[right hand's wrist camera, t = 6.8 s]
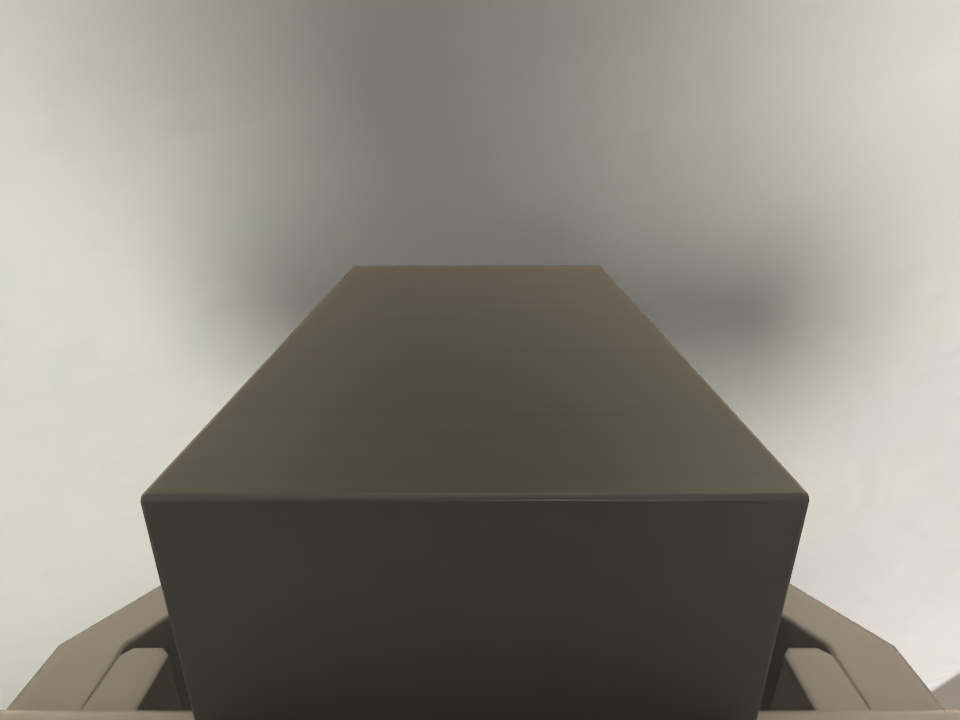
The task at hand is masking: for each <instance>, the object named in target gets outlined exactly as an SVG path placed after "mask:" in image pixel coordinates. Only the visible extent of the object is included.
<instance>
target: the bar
mask: <svg viewBox="0 0 960 720" xmlns="http://www.w3.org/2000/svg"><path fill="white" fill-rule="evenodd" d="M808 503H809V496H808V493H807V492H806V491H805V490H804V489H803V488H802V487H801V486H800V485H799V483H798V482H797V481H796V480H795V479H794V478H793V477H792V476H791V475H790V474H789V472H788V471H787V470H786V469H785V468H784V467H783V466H782V465H781V464H780V463H779V462H778V460H777V459H776V458H775V457H774V456H773V455H772V454H771V453H770V452H769V451H768V449H767V448H766V447H765V446H764V445H763V444H762V443H761V442H760V441H759V440H758V439H757V437H756V436H755V435H754V434H753V433H752V432H751V431H750V430H749V429H748V428H747V426H746V425H745V424H744V423H743V422H742V421H741V420H740V419H739V418H738V417H737V415H736V414H735V413H734V412H733V411H732V410H731V409H730V408H729V407H728V406H727V405H726V403H725V402H724V401H723V400H722V399H721V398H720V397H719V396H718V395H717V394H716V392H715V391H714V390H713V389H712V388H711V387H710V386H709V385H708V384H707V383H706V382H705V380H704V379H703V378H702V377H701V376H700V375H699V374H698V373H697V372H696V371H695V369H694V368H693V367H692V366H691V365H690V364H689V363H688V362H687V361H686V360H685V359H684V357H683V356H682V355H681V354H680V353H679V352H678V351H677V350H676V349H675V348H674V346H673V345H672V344H671V343H670V342H669V341H668V340H667V339H666V338H665V337H664V335H663V334H662V333H661V332H660V331H659V330H658V329H657V328H656V327H655V326H654V325H653V323H652V322H651V321H650V320H649V319H648V318H647V317H646V316H645V315H644V314H643V312H642V311H641V310H640V309H639V308H638V307H637V306H636V305H635V304H634V303H633V302H632V300H631V299H630V298H629V297H628V296H627V295H626V294H625V293H624V292H623V291H622V289H621V288H620V287H619V286H618V285H617V284H616V283H615V282H614V281H613V280H612V279H611V277H610V276H609V275H608V274H607V273H606V272H605V271H604V270H603V269H602V268H601V266H354V267H353V268H352V269H351V270H350V271H349V272H348V273H347V274H346V275H345V276H344V277H343V278H342V280H341V281H340V282H339V283H338V284H337V285H336V286H335V287H334V288H333V289H332V290H331V291H330V293H329V294H328V295H327V296H326V297H325V298H324V299H323V300H322V301H321V302H320V303H319V304H318V305H317V307H316V308H315V309H314V310H313V311H312V312H311V313H310V314H309V315H308V316H307V317H306V318H305V320H304V321H303V322H302V323H301V324H300V325H299V326H298V327H297V328H296V329H295V330H294V331H293V332H292V334H291V335H290V336H289V337H288V338H287V339H286V340H285V341H284V342H283V343H282V344H281V345H280V346H279V348H278V349H277V350H276V351H275V352H274V353H273V354H272V355H271V356H270V357H269V358H268V359H267V361H266V362H265V363H264V364H263V365H262V366H261V367H260V368H259V369H258V370H257V371H256V372H255V373H254V375H253V376H252V377H251V378H250V379H249V380H248V381H247V382H246V383H245V384H244V385H243V386H242V388H241V389H240V390H239V391H238V392H237V393H236V394H235V395H234V396H233V397H232V398H231V399H230V400H229V402H228V403H227V404H226V405H225V406H224V407H223V408H222V409H221V410H220V411H219V412H218V413H217V415H216V416H215V417H214V418H213V419H212V420H211V421H210V422H209V423H208V424H207V425H206V426H205V427H204V429H203V430H202V431H201V432H200V433H199V434H198V435H197V436H196V437H195V438H194V439H193V440H192V441H191V443H190V444H189V445H188V446H187V447H186V448H185V449H184V450H183V451H182V452H181V453H180V454H179V456H178V457H177V458H176V459H175V460H174V461H173V462H172V463H171V464H170V465H169V466H168V467H167V468H166V470H165V471H164V472H163V473H162V474H161V475H160V476H159V477H158V478H157V479H156V480H155V481H154V483H153V484H152V485H151V486H150V487H149V488H148V489H147V490H146V491H145V492H144V493H143V494H142V497H141V506H142V510H143V514H144V518H145V522H146V526H147V530H148V534H149V538H150V542H151V546H152V550H153V554H154V558H155V562H156V566H157V570H158V574H159V578H160V582H161V586H162V590H163V594H164V598H165V603H166V607H167V611H168V615H169V619H170V623H171V627H172V631H173V635H174V639H175V643H176V647H177V651H178V655H179V659H180V663H181V667H182V671H183V675H184V679H185V683H186V687H187V691H188V695H189V699H190V703H191V707H192V712H193V716H194V720H757V716H758V712H759V708H760V704H761V700H762V695H763V691H764V687H765V683H766V679H767V674H768V670H769V666H770V662H771V658H772V654H773V649H774V645H775V641H776V637H777V633H778V628H779V624H780V620H781V616H782V612H783V608H784V603H785V599H786V595H787V591H788V587H789V582H790V578H791V574H792V570H793V566H794V562H795V557H796V553H797V549H798V545H799V541H800V536H801V532H802V528H803V524H804V520H805V516H806V511H807V507H808Z"/></svg>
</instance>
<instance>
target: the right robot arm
mask: <svg viewBox="0 0 960 720" xmlns="http://www.w3.org/2000/svg"><path fill="white" fill-rule="evenodd" d="M0 720H194V716H193V712H192V707H191V703H190V699H189V695H188V691H187V687H186V683H185V679H184V675H183V671H182V667H181V663H180V659H179V655H178V651H177V647H176V643H175V639H174V635H173V631H172V627H171V623H170V619H169V615H168V611H167V607H166V603H165V598H164V594H163V590H162V586H161V585H160V586H159V587H157V588H155V589H154V590H152V591H150V592H149V593H147V594H145V595H144V596H142V597H140V598H139V599H137V600H135V601H133V602H132V603H130V604H128V605H127V606H125V607H123V608H122V609H120V610H118V611H117V612H115V613H113V614H111V615H110V616H108V617H106V618H105V619H103V620H101V621H100V622H98V623H96V624H95V625H93V626H91V627H89V628H88V629H86V630H84V631H83V632H81V633H79V634H78V635H76V636H74V637H73V638H71V639H69V640H67V641H66V642H64V643H62V644H61V645H59V646H58V647H57V649H56V650H55V651H54V652H53V653H52V655H51V656H50V657H49V658H48V660H47V661H46V662H45V663H44V664H43V666H42V667H41V668H40V669H39V671H38V672H37V673H36V674H35V675H34V677H33V678H32V679H31V680H30V681H29V683H28V684H27V685H26V686H25V688H24V689H23V690H22V691H21V692H20V694H19V695H18V696H17V697H16V698H15V700H14V701H13V702H12V703H11V705H10V706H9V707H8V708H7V709H6V710H0ZM757 720H960V710H945V709H944V707H943V706H942V705H941V704H940V703H939V701H938V700H937V699H936V697H935V696H934V695H933V694H932V692H931V691H930V690H929V689H928V688H927V686H926V685H925V684H924V683H923V681H922V680H921V679H920V678H919V676H918V675H917V674H916V673H915V671H914V670H913V669H912V668H911V666H910V665H909V664H908V663H907V661H906V660H905V659H904V658H903V656H902V655H901V654H900V653H899V651H898V650H897V649H896V648H895V646H893V645H891V644H890V643H888V642H886V641H885V640H883V639H881V638H880V637H878V636H876V635H875V634H873V633H871V632H870V631H868V630H866V629H865V628H863V627H861V626H860V625H858V624H856V623H855V622H853V621H851V620H850V619H848V618H846V617H845V616H843V615H841V614H840V613H838V612H836V611H835V610H833V609H831V608H830V607H828V606H826V605H825V604H823V603H821V602H820V601H818V600H816V599H815V598H813V597H811V596H810V595H808V594H806V593H805V592H803V591H801V590H800V589H798V588H796V587H795V586H793V585H791V584H789V587H788V591H787V595H786V599H785V603H784V608H783V612H782V616H781V620H780V624H779V628H778V633H777V637H776V641H775V645H774V649H773V654H772V658H771V662H770V666H769V670H768V674H767V679H766V683H765V687H764V691H763V695H762V700H761V704H760V708H759V712H758V716H757Z"/></svg>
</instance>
